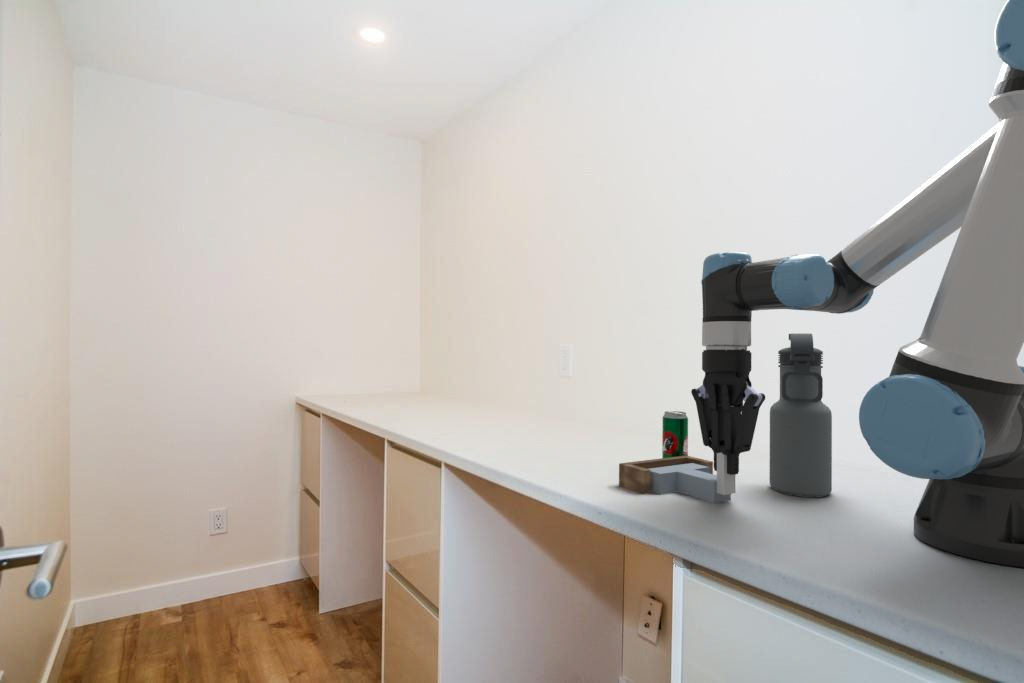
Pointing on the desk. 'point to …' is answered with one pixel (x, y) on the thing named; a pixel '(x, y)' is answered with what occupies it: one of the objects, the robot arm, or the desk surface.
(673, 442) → the soda can
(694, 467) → the t block
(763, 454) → the desk surface
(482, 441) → the desk surface
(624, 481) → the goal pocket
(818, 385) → the water bottle
